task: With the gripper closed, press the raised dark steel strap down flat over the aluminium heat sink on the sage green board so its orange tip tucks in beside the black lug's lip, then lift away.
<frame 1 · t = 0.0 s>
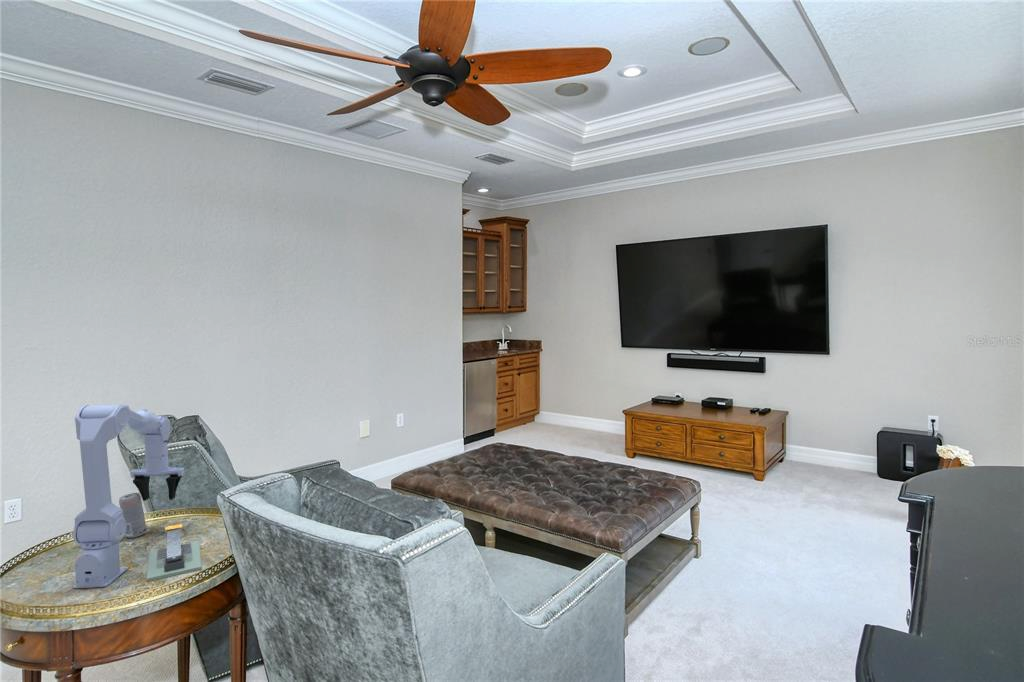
hand: (159, 499, 168), 10 cm above the table, tool pointing down, fingers open, 7 cm apart
energy drink: (136, 534, 166), on the table, touching gripper
heat sink: (174, 561, 150), resting on socket board
socket board: (174, 561, 150), on the table
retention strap: (173, 542, 148), point 5 cm above the table, hinge at 20.0°
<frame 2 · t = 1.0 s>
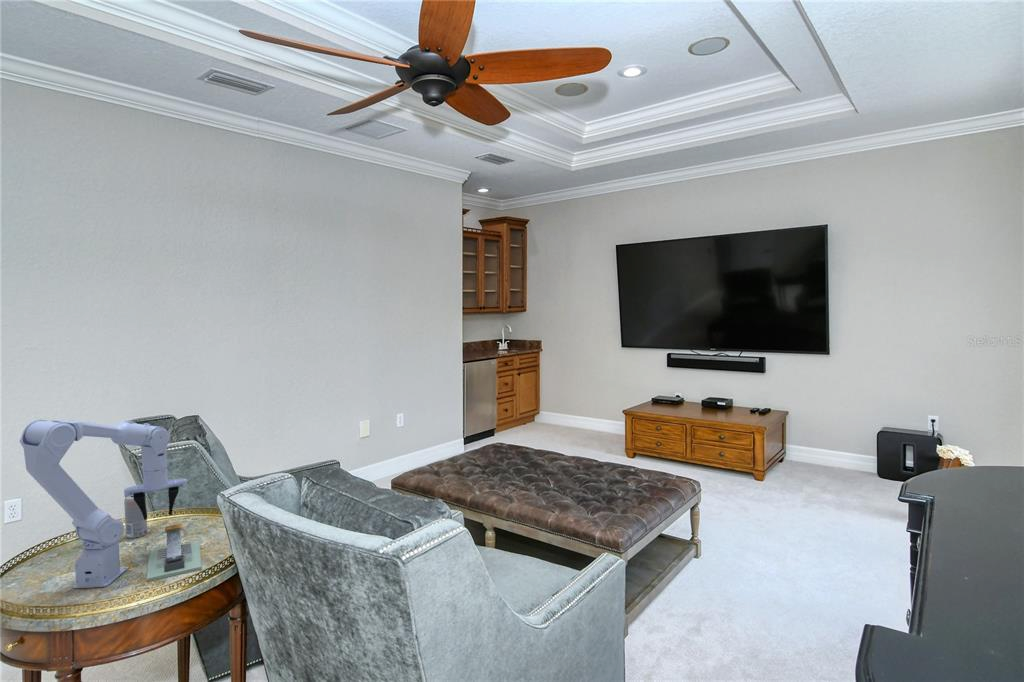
hand: (158, 516, 154), 10 cm above the table, tool pointing down, fingers open, 5 cm apart
energy drink: (136, 535, 166), on the table
everything else where it was.
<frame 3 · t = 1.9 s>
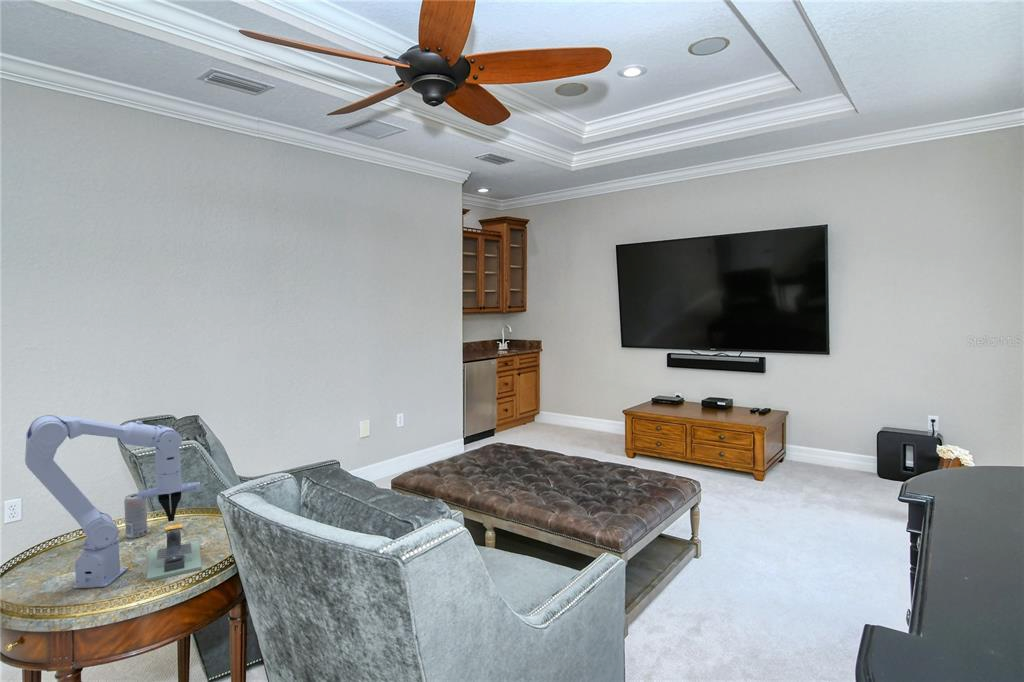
hand: (171, 520, 151), 10 cm above the table, tool pointing down, fingers closed
nothing on the table moved.
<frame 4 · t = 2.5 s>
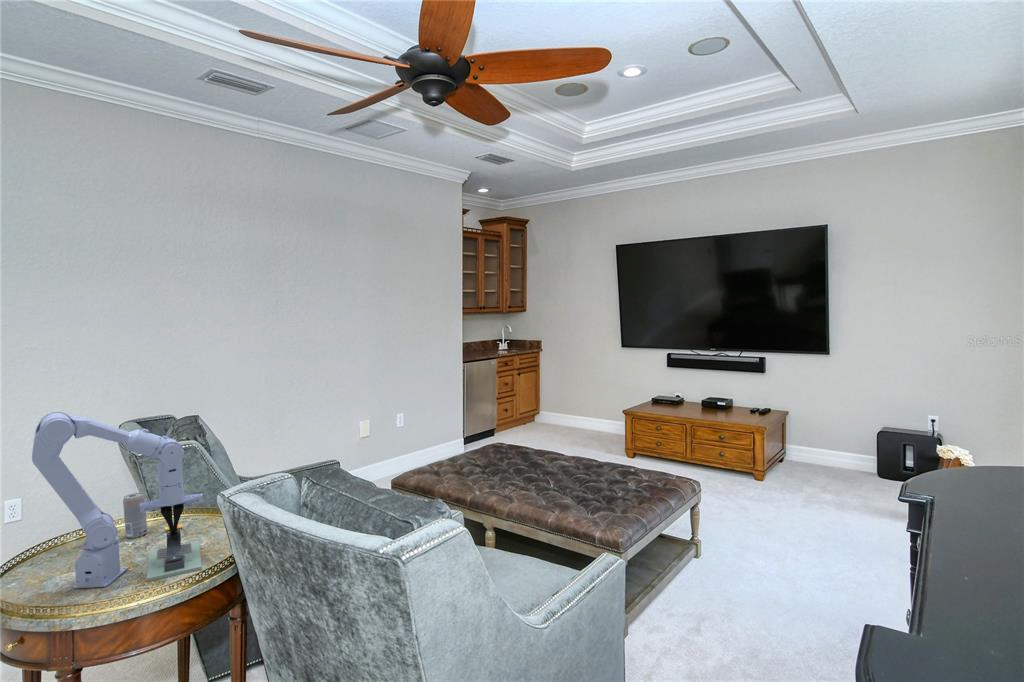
hand: (173, 531, 151), 7 cm above the table, tool pointing down, fingers closed, pressing on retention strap
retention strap: (173, 542, 148), point 5 cm above the table, hinge at 20.0°, touching gripper
everything else where it was.
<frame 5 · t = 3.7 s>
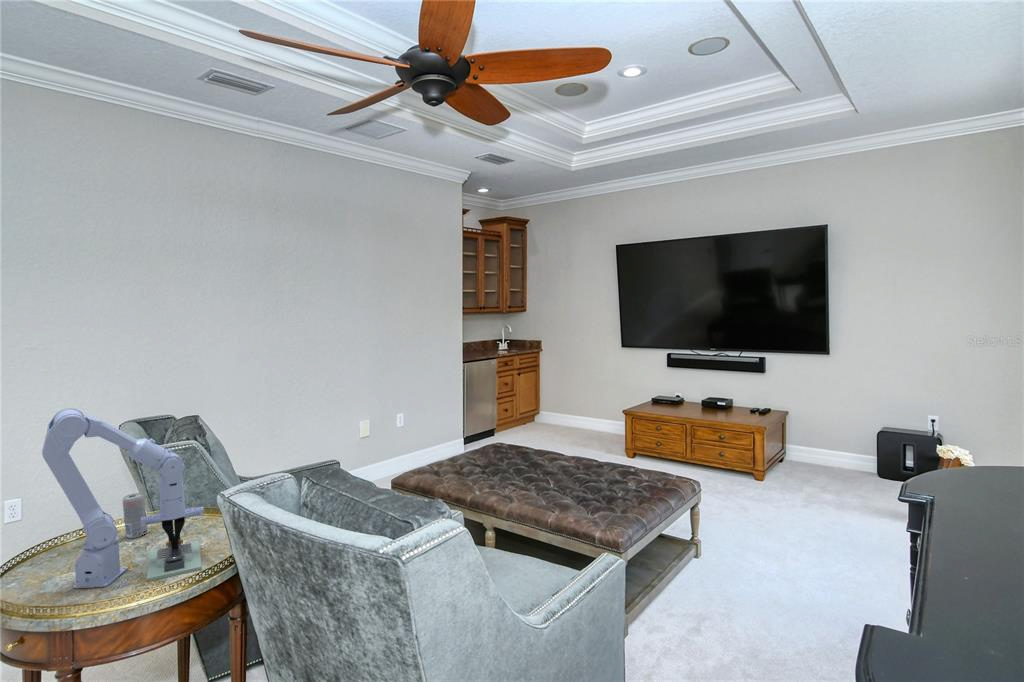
hand: (174, 545, 152), 3 cm above the table, tool pointing down, fingers closed, pressing on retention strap
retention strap: (174, 550, 149), point 3 cm above the table, hinge at -1.7°, touching gripper, heat sink
everything else where it was.
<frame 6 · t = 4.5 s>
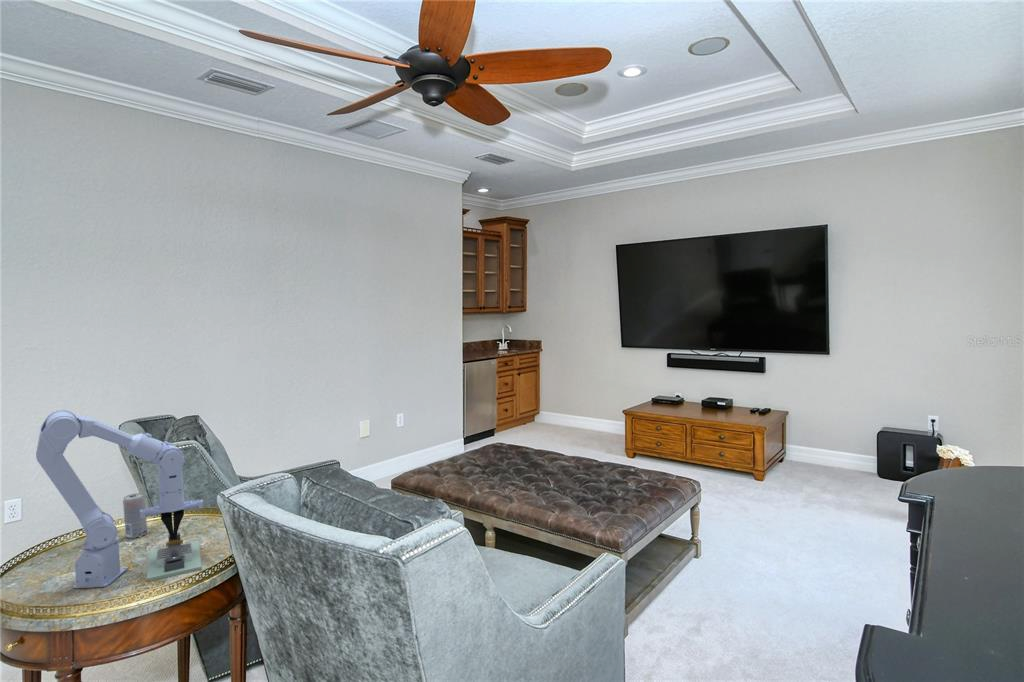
hand: (173, 538, 151), 6 cm above the table, tool pointing down, fingers closed
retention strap: (174, 550, 149), point 3 cm above the table, hinge at -1.8°, touching heat sink
everything else where it was.
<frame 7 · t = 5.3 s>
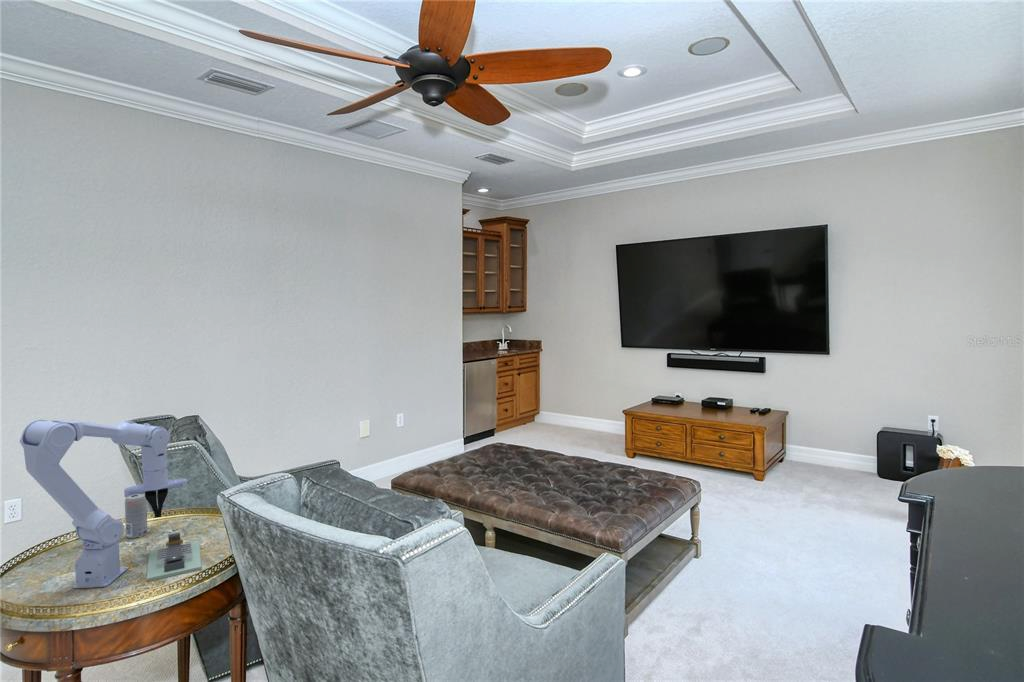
hand: (158, 516, 154), 10 cm above the table, tool pointing down, fingers closed
nothing on the table moved.
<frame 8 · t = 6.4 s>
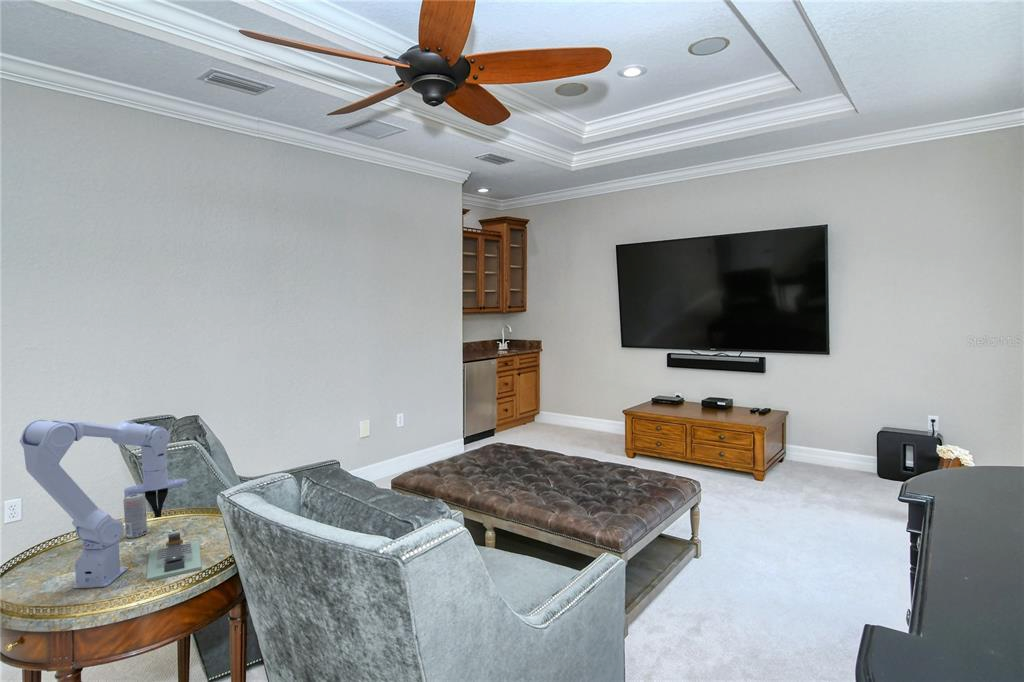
hand: (158, 516, 154), 10 cm above the table, tool pointing down, fingers closed
nothing on the table moved.
at the end: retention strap at -2° (first picture: +20°); energy drink moved 0.2 cm from its start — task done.
